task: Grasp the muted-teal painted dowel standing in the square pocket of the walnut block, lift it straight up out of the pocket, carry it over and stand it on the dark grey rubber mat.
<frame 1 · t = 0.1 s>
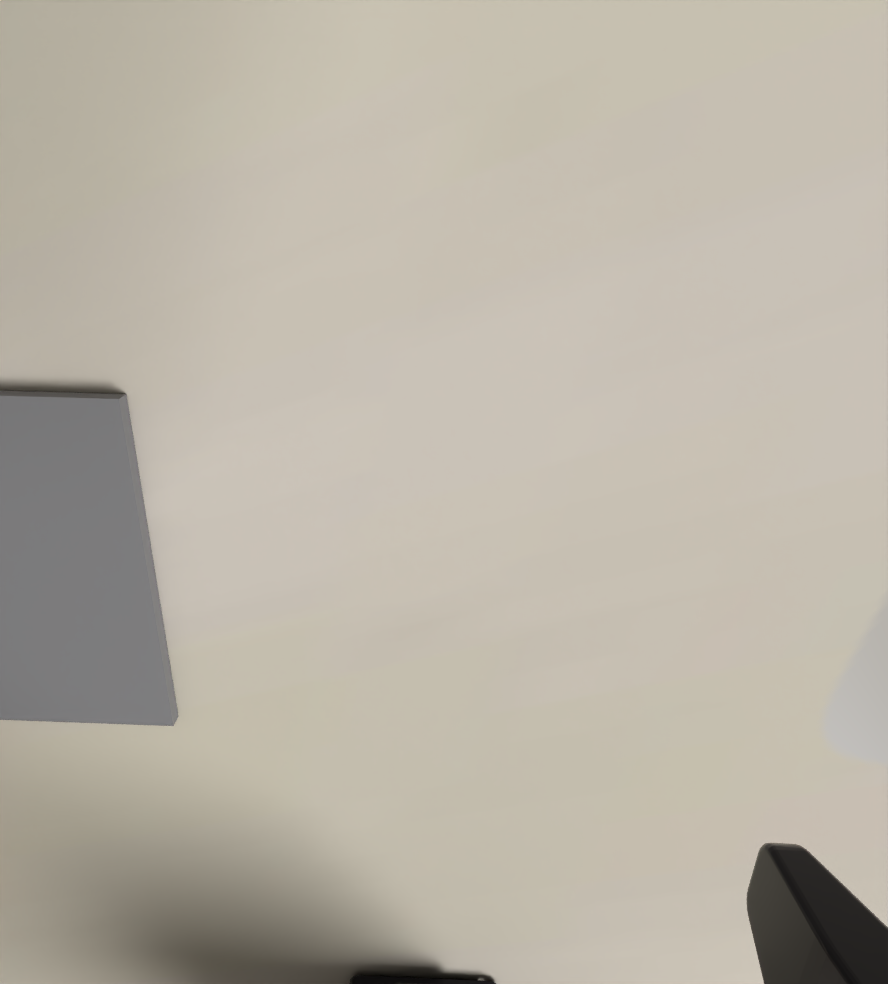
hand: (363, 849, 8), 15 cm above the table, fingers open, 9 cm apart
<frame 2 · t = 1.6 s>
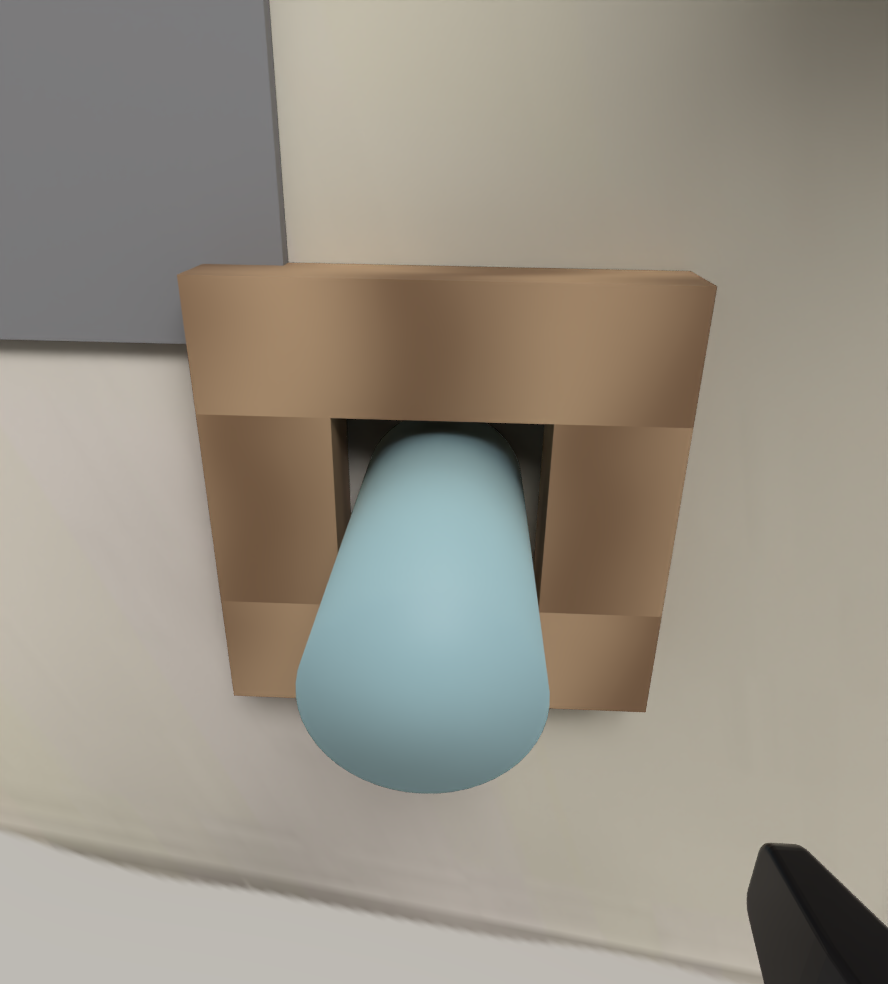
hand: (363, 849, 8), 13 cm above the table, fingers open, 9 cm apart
peg: (435, 566, 17), in the pocket block
mat: (16, 77, 17), on the table
pocket block: (444, 485, 21), on the table
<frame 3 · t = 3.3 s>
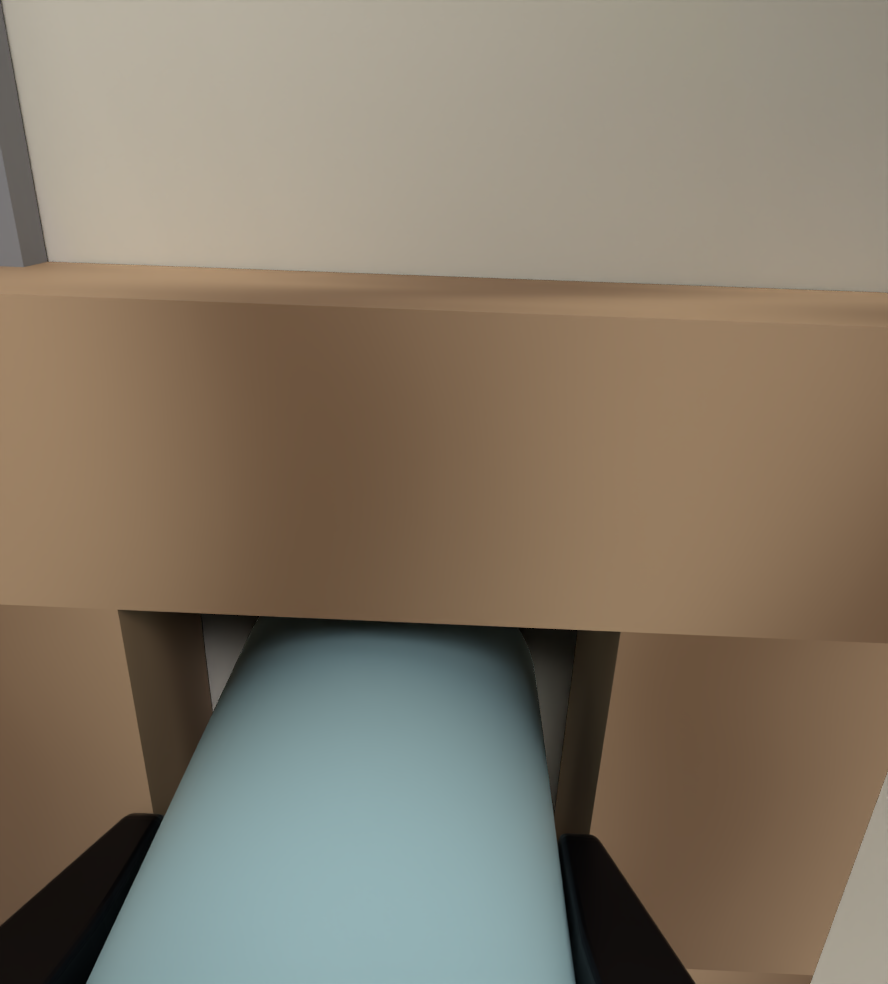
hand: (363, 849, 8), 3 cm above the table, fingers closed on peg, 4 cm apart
pocket block: (388, 689, 11), on the table
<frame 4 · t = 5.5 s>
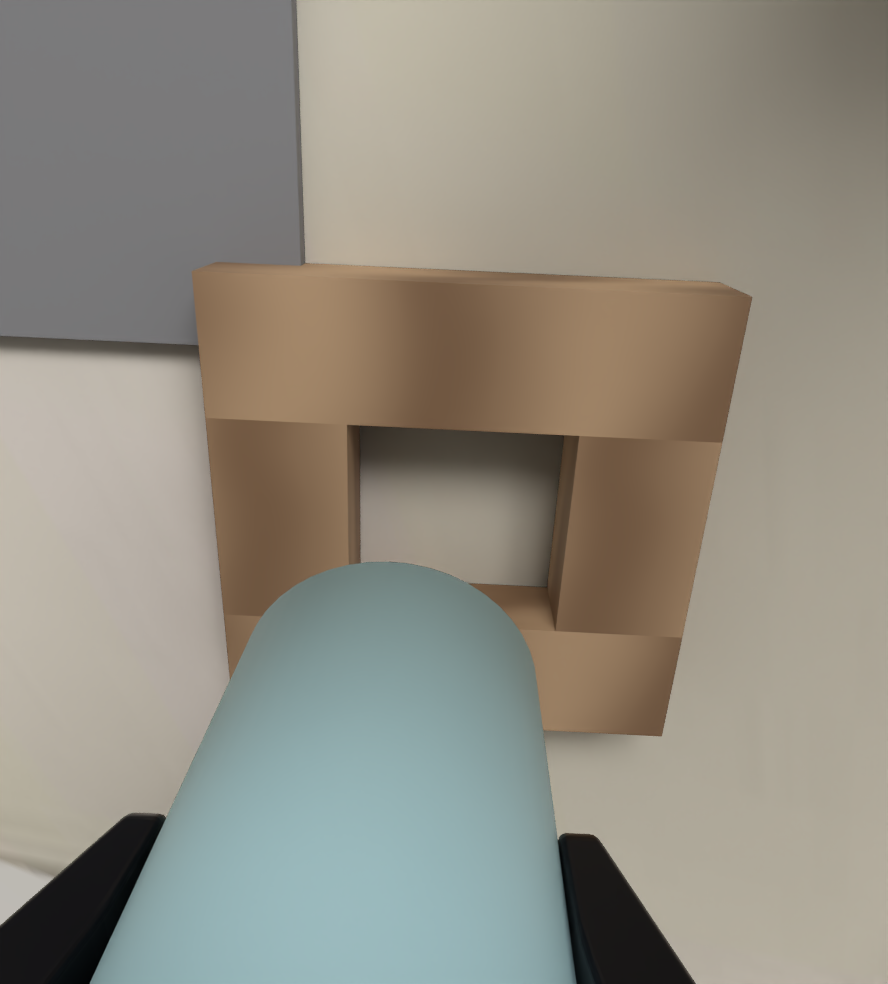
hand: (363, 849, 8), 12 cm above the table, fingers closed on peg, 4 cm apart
mat: (27, 62, 16), on the table
pocket block: (458, 497, 20), on the table
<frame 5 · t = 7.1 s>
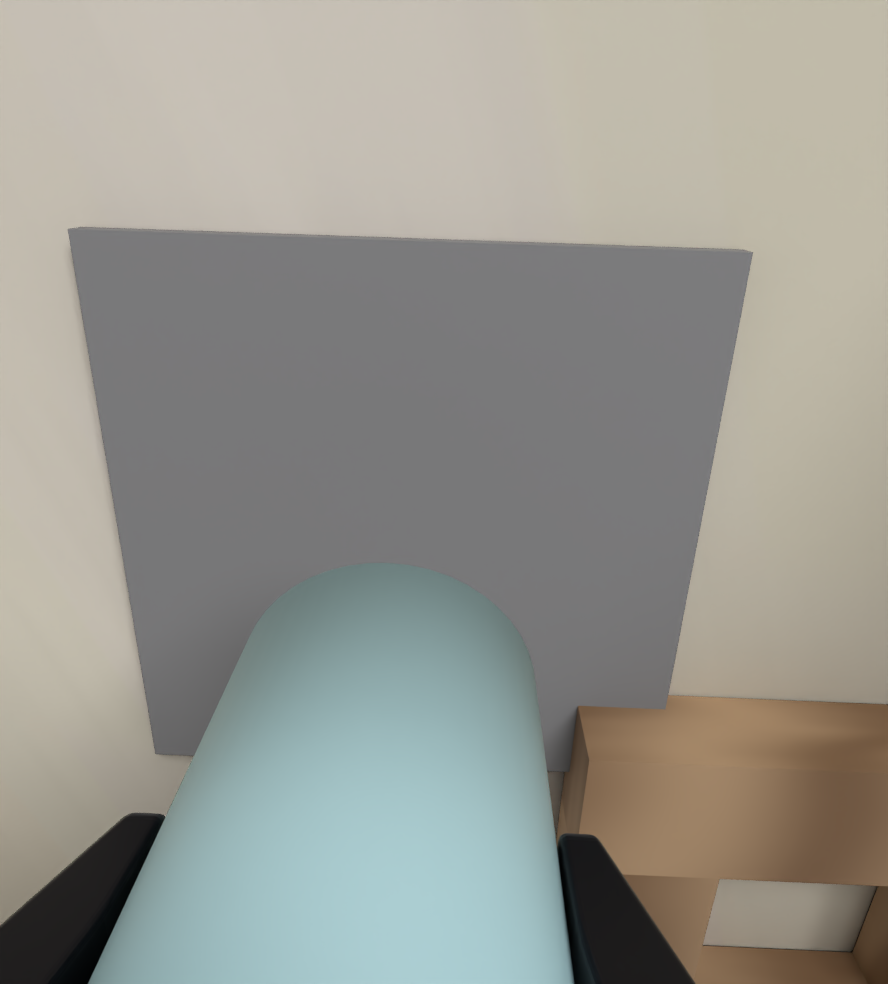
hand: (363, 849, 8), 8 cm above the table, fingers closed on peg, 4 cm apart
mat: (407, 533, 16), on the table
pocket block: (776, 881, 20), on the table
when the fingers open (4 cm above the table, at t = 8.1 s): peg drops 1 cm, resting on mat.
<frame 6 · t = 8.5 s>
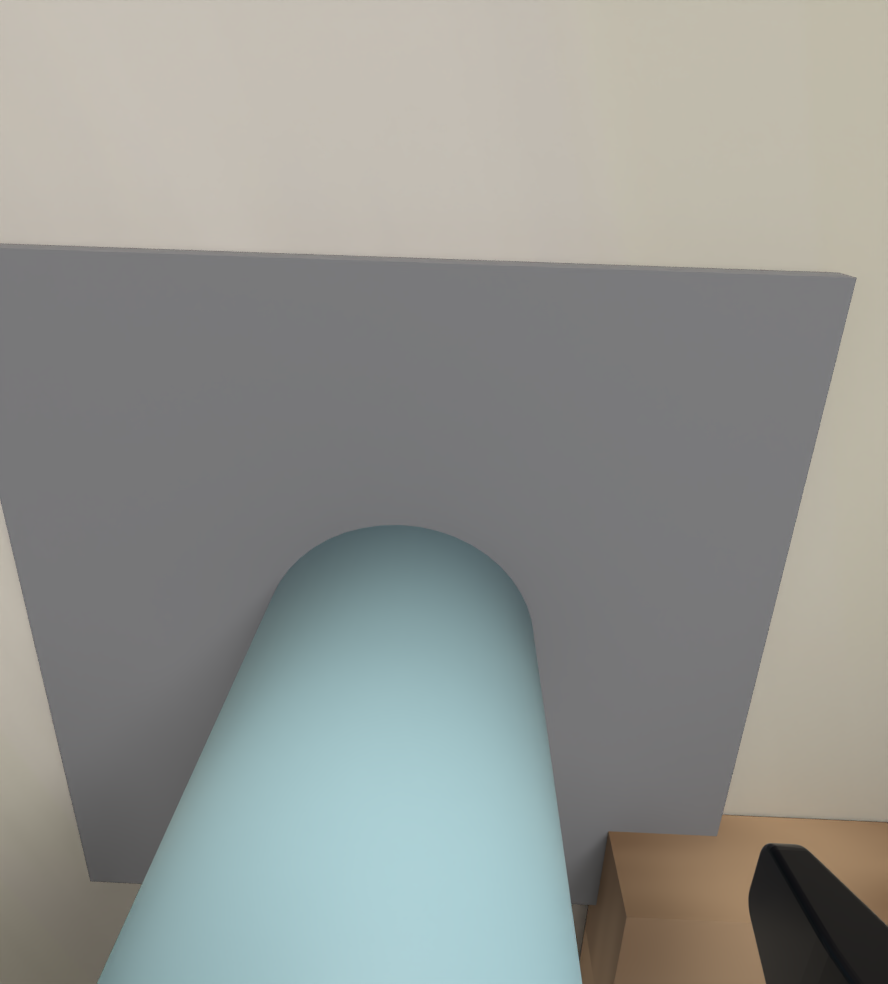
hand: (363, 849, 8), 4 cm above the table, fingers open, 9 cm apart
peg: (363, 893, 8), on the mat
mat: (396, 625, 12), on the table
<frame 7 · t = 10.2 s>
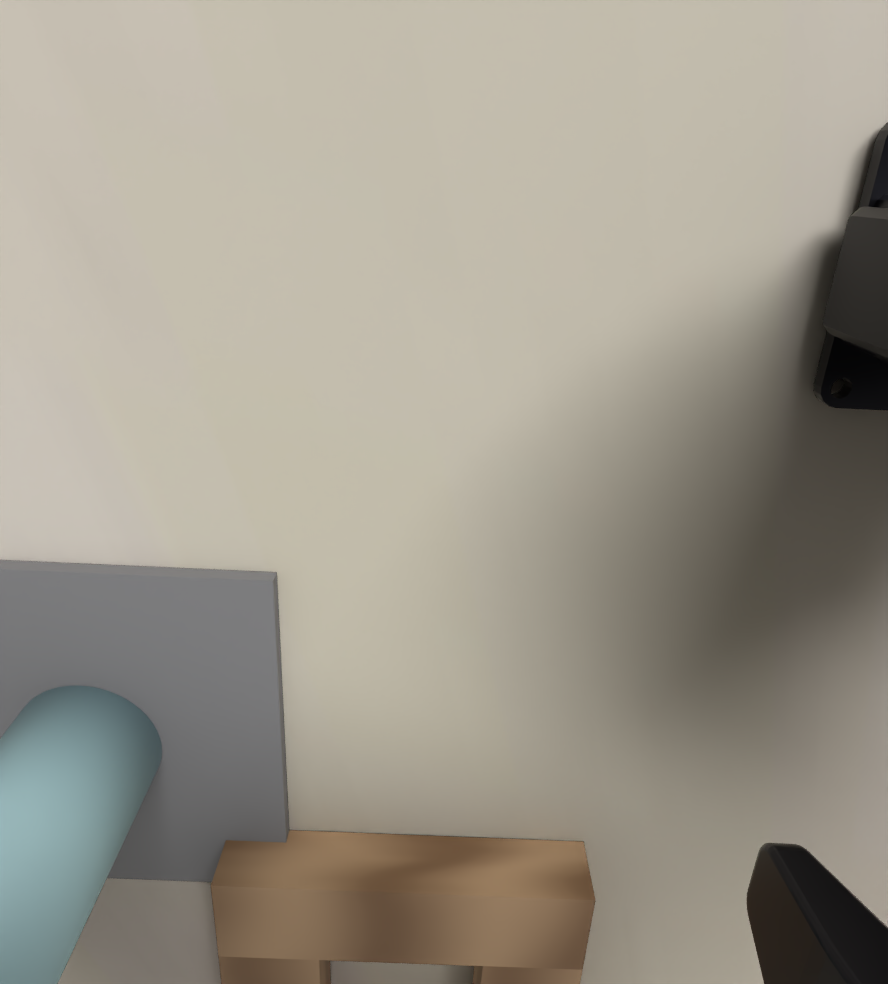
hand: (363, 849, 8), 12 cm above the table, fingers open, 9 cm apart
peg: (12, 870, 19), on the mat
mat: (94, 729, 23), on the table
pocket block: (402, 952, 27), on the table
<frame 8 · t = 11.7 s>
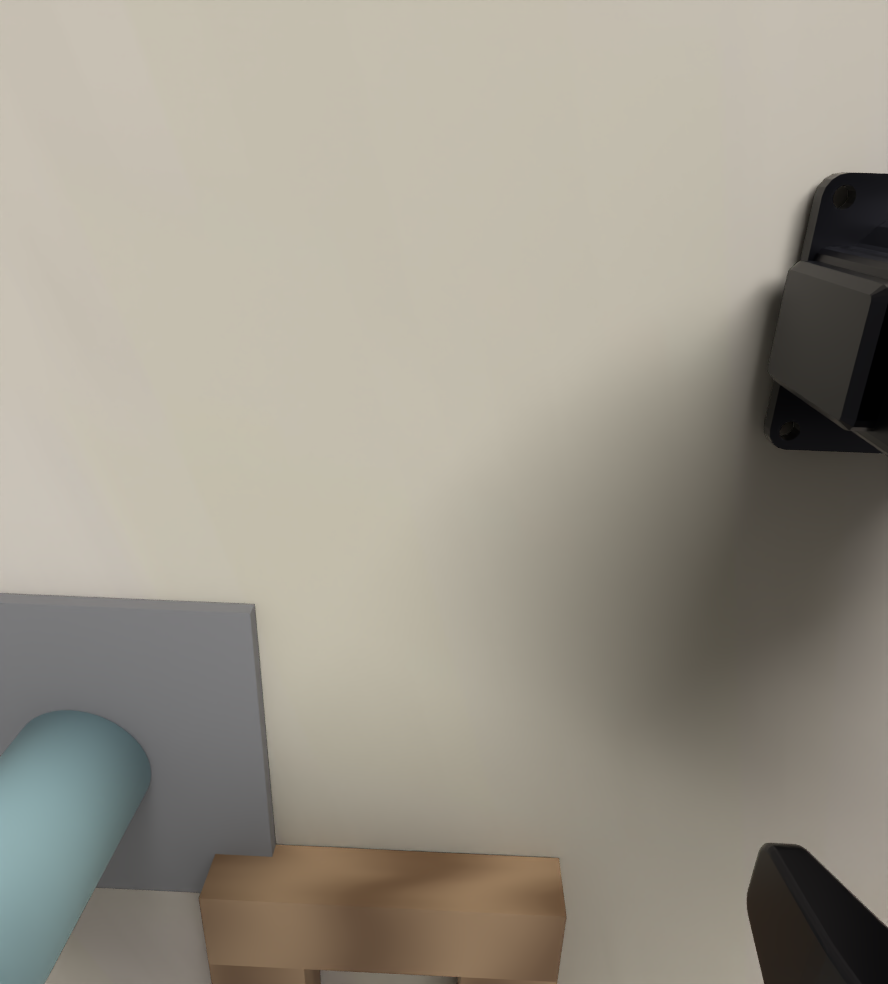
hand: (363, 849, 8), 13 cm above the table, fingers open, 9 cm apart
peg: (1, 888, 20), on the mat
mat: (88, 749, 24), on the table
pocket block: (388, 961, 28), on the table
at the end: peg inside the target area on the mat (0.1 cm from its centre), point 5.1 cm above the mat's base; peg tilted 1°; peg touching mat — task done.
